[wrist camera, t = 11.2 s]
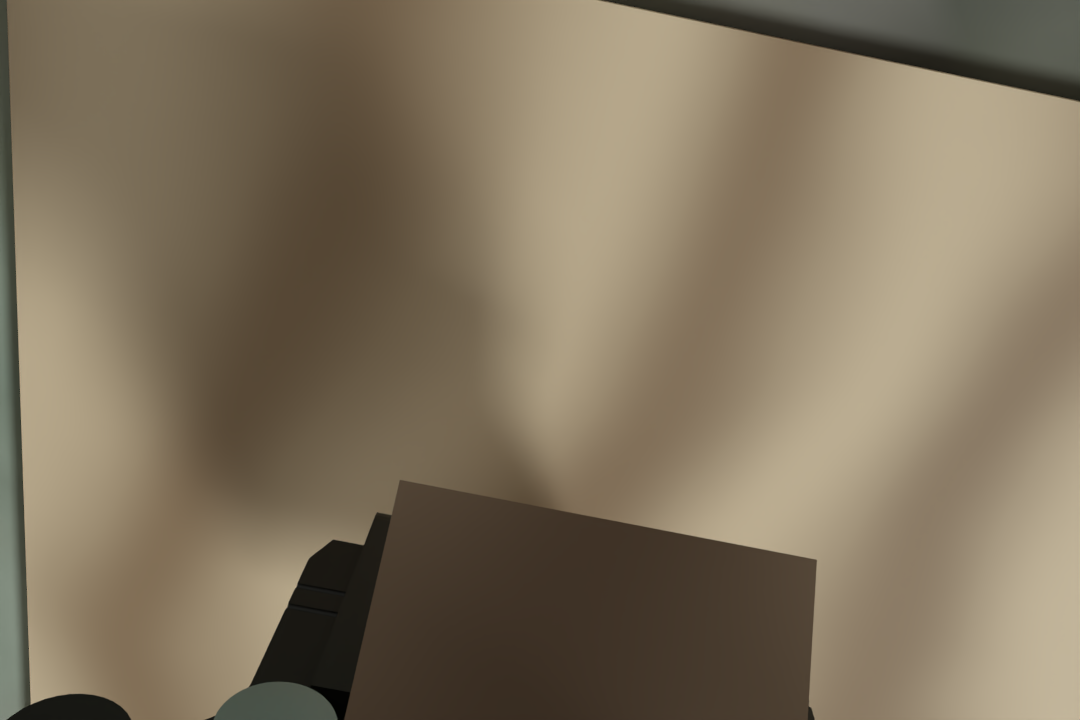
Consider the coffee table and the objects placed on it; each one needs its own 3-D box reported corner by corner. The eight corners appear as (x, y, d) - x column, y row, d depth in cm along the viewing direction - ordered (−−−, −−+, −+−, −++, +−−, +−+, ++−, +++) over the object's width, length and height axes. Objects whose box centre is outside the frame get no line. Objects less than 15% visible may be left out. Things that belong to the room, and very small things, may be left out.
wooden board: (1369, 162, 15) (1393, 168, 15) (931, 953, 23) (938, 973, 23) (21, -123, 14) (2, -126, 14) (45, 796, 22) (34, 814, 22)
